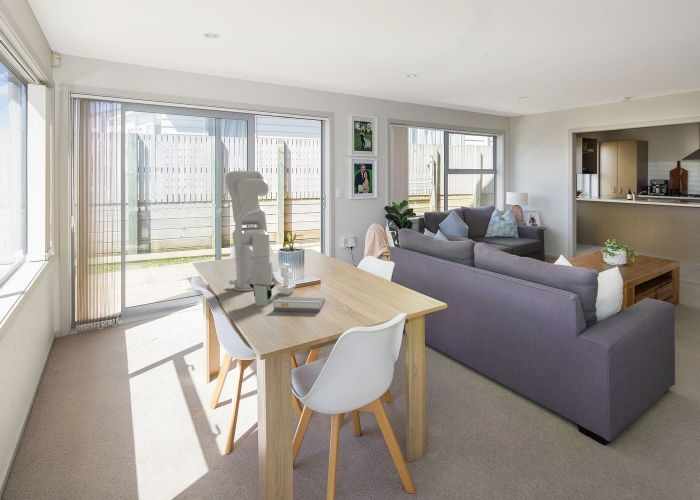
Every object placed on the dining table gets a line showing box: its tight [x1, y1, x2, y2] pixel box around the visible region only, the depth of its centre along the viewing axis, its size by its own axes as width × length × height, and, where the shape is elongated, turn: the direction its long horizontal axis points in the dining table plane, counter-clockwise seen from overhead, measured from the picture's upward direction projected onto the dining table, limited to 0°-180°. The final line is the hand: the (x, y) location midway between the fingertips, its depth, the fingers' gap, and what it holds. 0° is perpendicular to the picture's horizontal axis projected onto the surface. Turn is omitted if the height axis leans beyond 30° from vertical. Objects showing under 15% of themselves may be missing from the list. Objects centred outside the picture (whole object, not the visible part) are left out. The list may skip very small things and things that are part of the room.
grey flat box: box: [273, 296, 326, 313], centre depth 187 cm, size 20×16×4 cm
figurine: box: [277, 263, 297, 296], centre depth 206 cm, size 7×9×15 cm
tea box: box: [254, 285, 272, 307], centre depth 191 cm, size 8×5×9 cm, turn 175°
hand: (263, 297), depth 191 cm, fingers closed on tea box, 5 cm apart
